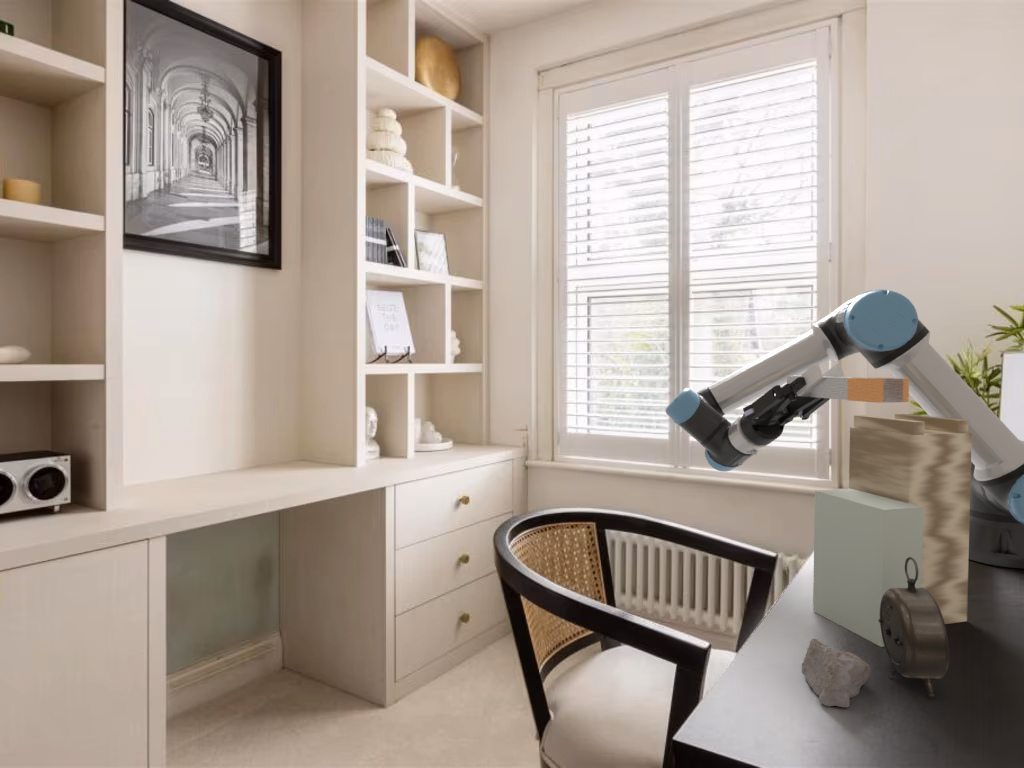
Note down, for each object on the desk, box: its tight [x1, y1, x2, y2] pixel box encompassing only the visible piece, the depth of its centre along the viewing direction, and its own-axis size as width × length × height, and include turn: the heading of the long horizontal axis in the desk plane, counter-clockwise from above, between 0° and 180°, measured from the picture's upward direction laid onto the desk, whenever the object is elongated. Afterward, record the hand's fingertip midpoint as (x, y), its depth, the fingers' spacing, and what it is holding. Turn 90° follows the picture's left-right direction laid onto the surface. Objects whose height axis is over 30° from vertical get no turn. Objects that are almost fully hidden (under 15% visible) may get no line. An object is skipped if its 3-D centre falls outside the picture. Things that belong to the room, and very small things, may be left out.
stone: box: [801, 637, 872, 708], centre depth 81 cm, size 10×8×6 cm
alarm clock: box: [879, 557, 950, 700], centre depth 84 cm, size 11×5×16 cm, turn 168°
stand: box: [848, 413, 972, 625], centre depth 107 cm, size 12×12×32 cm
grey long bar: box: [786, 375, 910, 404], centre depth 107 cm, size 6×22×4 cm, turn 14°
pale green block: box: [812, 488, 923, 648], centre depth 101 cm, size 7×14×20 cm, turn 15°
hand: (829, 371), depth 109 cm, fingers closed on grey long bar, 3 cm apart
